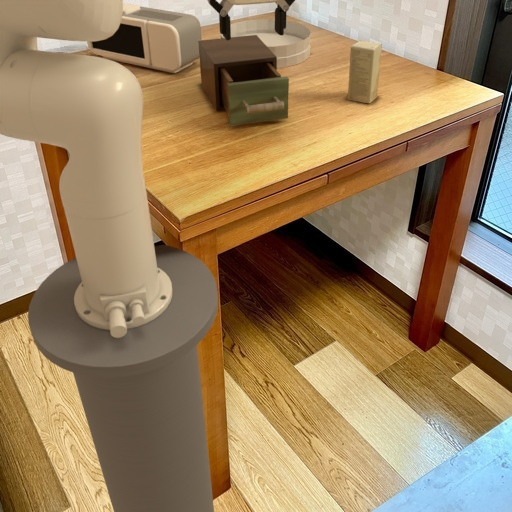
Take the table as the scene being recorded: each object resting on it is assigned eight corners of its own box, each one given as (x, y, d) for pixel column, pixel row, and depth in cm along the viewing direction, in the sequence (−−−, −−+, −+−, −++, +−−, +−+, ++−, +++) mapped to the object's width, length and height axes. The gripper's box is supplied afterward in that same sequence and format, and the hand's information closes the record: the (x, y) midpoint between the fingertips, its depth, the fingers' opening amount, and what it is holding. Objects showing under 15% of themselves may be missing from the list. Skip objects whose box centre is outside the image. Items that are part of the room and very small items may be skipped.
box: (377, 97, 124) (384, 43, 117) (369, 104, 121) (375, 49, 114) (354, 92, 126) (359, 39, 119) (345, 99, 123) (350, 45, 116)
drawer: (295, 127, 111) (296, 86, 106) (235, 135, 108) (234, 94, 104) (267, 92, 124) (267, 54, 120) (214, 98, 122) (212, 60, 117)
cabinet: (276, 103, 122) (276, 56, 116) (216, 111, 119) (213, 63, 113) (256, 78, 133) (256, 34, 127) (201, 85, 130) (198, 40, 124)
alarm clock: (89, 57, 145) (80, 6, 138) (114, 46, 151) (107, -3, 144) (180, 77, 134) (175, 23, 127) (203, 64, 140) (200, 12, 133)
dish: (214, 41, 153) (213, 21, 150) (297, 35, 157) (298, 16, 154) (227, 72, 136) (227, 50, 133) (321, 64, 139) (322, 43, 136)
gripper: (204, -68, 91) (210, 46, 101) (311, -73, 94) (306, 37, 105) (194, -75, 96) (200, 34, 106) (295, -80, 100) (292, 26, 110)
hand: (253, 35), depth 105 cm, fingers open, 9 cm apart
